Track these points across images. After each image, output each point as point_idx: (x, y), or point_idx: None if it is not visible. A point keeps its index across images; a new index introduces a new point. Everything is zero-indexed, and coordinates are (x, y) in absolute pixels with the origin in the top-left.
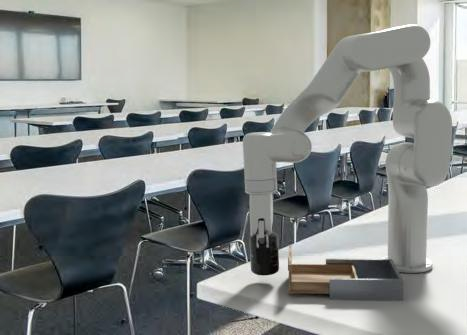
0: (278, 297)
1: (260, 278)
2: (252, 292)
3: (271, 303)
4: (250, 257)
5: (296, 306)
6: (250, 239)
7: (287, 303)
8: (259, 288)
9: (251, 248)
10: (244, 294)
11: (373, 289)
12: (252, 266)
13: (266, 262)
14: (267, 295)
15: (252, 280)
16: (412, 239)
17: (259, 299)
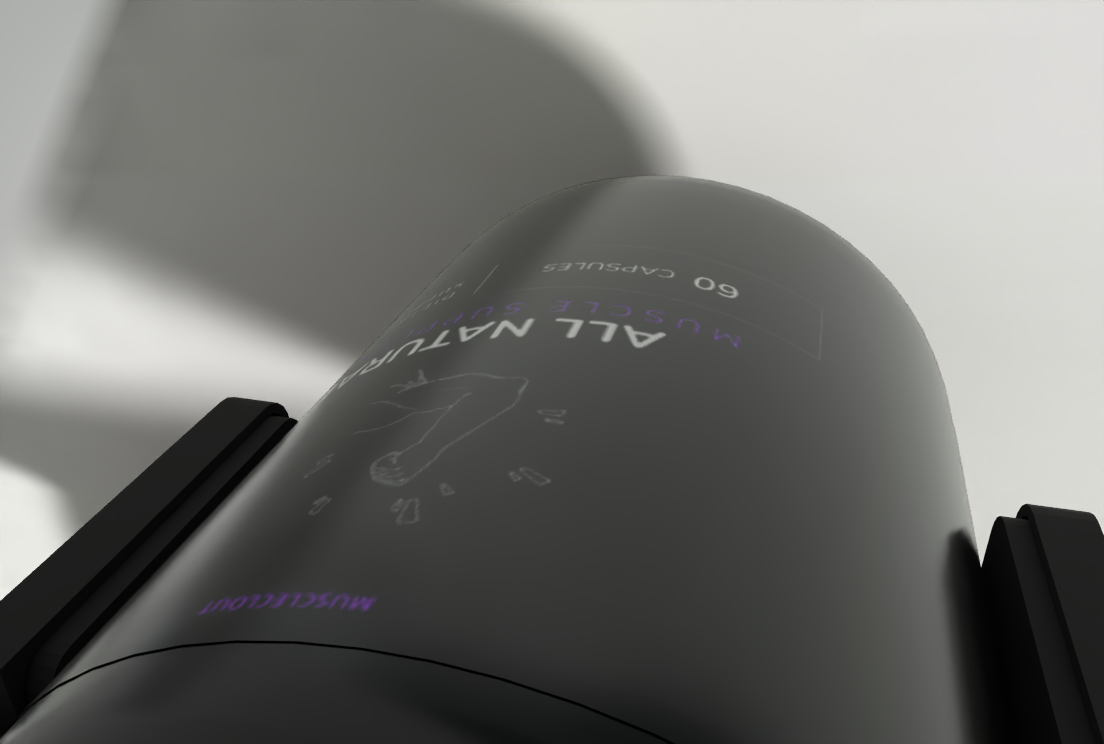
0: (189, 425)
1: (895, 255)
2: (274, 126)
3: (10, 341)
4: (517, 291)
5: (26, 544)
6: (91, 739)
7: (64, 485)
8: (439, 227)
9: (251, 491)
10: (176, 7)
11: None
12: (470, 251)
13: None
14: (216, 316)
15: (804, 119)
16: None
17: (72, 217)
